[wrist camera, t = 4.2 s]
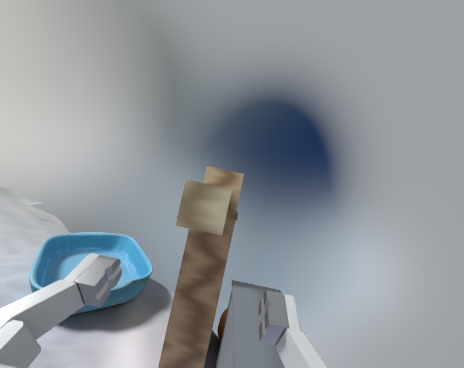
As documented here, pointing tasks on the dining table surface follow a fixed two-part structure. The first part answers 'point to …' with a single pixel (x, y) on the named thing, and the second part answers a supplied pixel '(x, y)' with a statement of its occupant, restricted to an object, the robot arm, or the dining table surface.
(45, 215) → the dining table surface
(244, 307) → the storage box
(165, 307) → the dining table surface
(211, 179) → the mallet
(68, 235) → the casserole dish
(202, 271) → the shelf block
